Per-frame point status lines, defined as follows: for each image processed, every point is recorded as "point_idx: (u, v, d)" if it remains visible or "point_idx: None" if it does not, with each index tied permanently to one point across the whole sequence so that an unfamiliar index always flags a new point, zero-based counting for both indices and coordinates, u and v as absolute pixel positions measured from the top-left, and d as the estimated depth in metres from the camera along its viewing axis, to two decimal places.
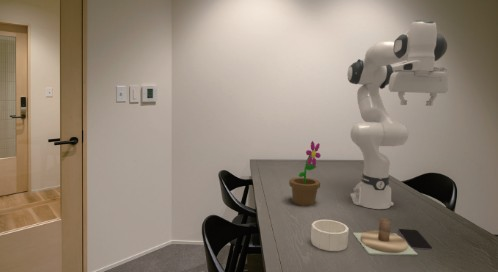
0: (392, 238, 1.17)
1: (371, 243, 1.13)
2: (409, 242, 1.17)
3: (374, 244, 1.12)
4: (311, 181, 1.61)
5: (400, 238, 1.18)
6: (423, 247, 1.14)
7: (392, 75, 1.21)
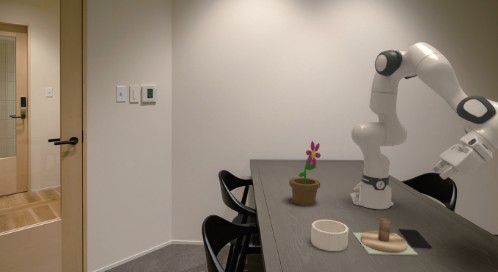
0: (392, 238, 1.17)
1: (371, 243, 1.13)
2: (409, 242, 1.17)
3: (374, 244, 1.12)
4: (311, 181, 1.61)
5: (400, 238, 1.18)
6: (423, 247, 1.14)
7: (474, 156, 0.98)
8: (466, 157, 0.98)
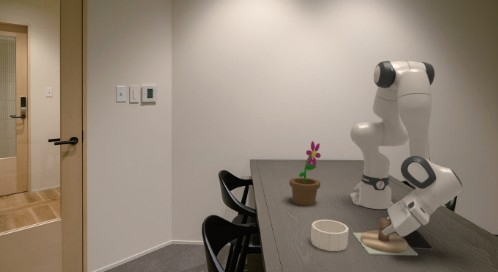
0: (392, 238, 1.17)
1: (371, 243, 1.13)
2: (409, 242, 1.18)
3: (374, 244, 1.12)
4: (311, 181, 1.61)
5: (400, 238, 1.18)
6: (423, 247, 1.14)
7: (411, 221, 1.04)
8: (404, 221, 1.05)
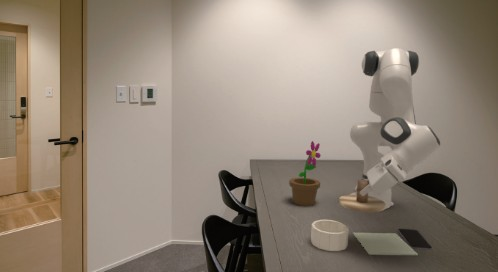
0: (371, 200, 1.15)
1: (349, 204, 1.10)
2: (409, 242, 1.18)
3: (352, 204, 1.10)
4: (311, 181, 1.61)
5: (379, 200, 1.15)
6: (423, 247, 1.14)
7: (388, 177, 1.02)
8: (380, 178, 1.02)
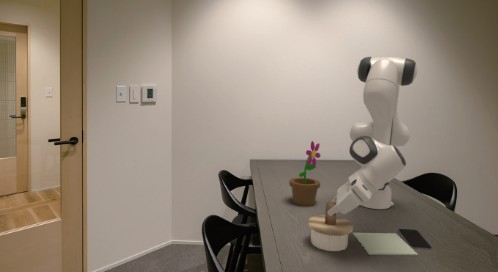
0: (339, 222, 1.16)
1: (316, 226, 1.12)
2: (409, 242, 1.18)
3: (319, 227, 1.11)
4: (311, 181, 1.61)
5: (347, 222, 1.16)
6: (423, 247, 1.14)
7: (352, 198, 1.03)
8: (345, 198, 1.03)
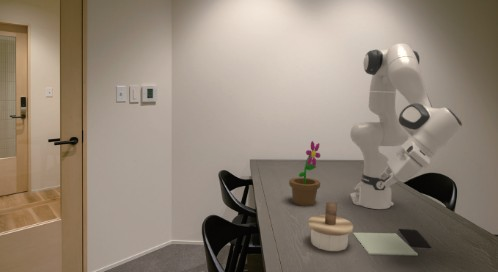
0: (339, 222, 1.16)
1: (316, 226, 1.12)
2: (409, 242, 1.18)
3: (319, 227, 1.11)
4: (310, 181, 1.61)
5: (347, 222, 1.16)
6: (423, 247, 1.14)
7: (411, 164, 0.99)
8: (404, 166, 1.00)
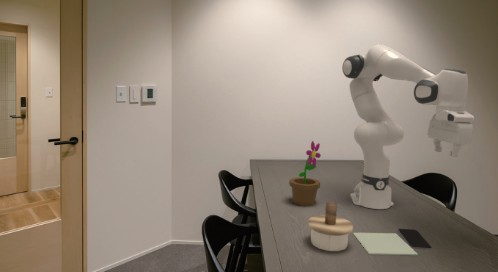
0: (339, 222, 1.16)
1: (316, 226, 1.12)
2: (409, 242, 1.18)
3: (319, 227, 1.11)
4: (311, 181, 1.61)
5: (347, 222, 1.16)
6: (422, 247, 1.14)
7: (464, 127, 1.09)
8: (460, 132, 1.09)
